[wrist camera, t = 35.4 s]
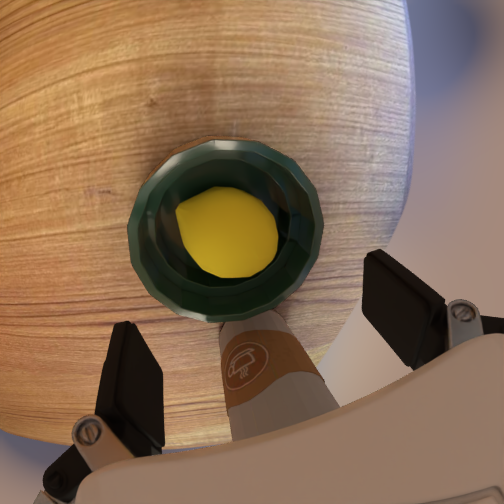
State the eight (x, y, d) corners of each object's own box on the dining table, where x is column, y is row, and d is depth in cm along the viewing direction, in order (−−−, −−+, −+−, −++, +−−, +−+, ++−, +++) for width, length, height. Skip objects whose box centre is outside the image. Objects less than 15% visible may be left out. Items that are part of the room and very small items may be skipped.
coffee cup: (260, 277, 23) (343, 443, 10) (309, 327, 27) (382, 453, 14) (188, 334, 24) (211, 498, 11) (245, 372, 28) (286, 500, 15)
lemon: (283, 210, 20) (314, 239, 15) (242, 268, 22) (260, 312, 17) (199, 159, 17) (205, 173, 12) (159, 227, 19) (152, 265, 14)
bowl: (319, 215, 22) (352, 240, 17) (216, 305, 23) (226, 347, 19) (225, 102, 16) (239, 95, 12) (110, 217, 18) (90, 247, 14)
